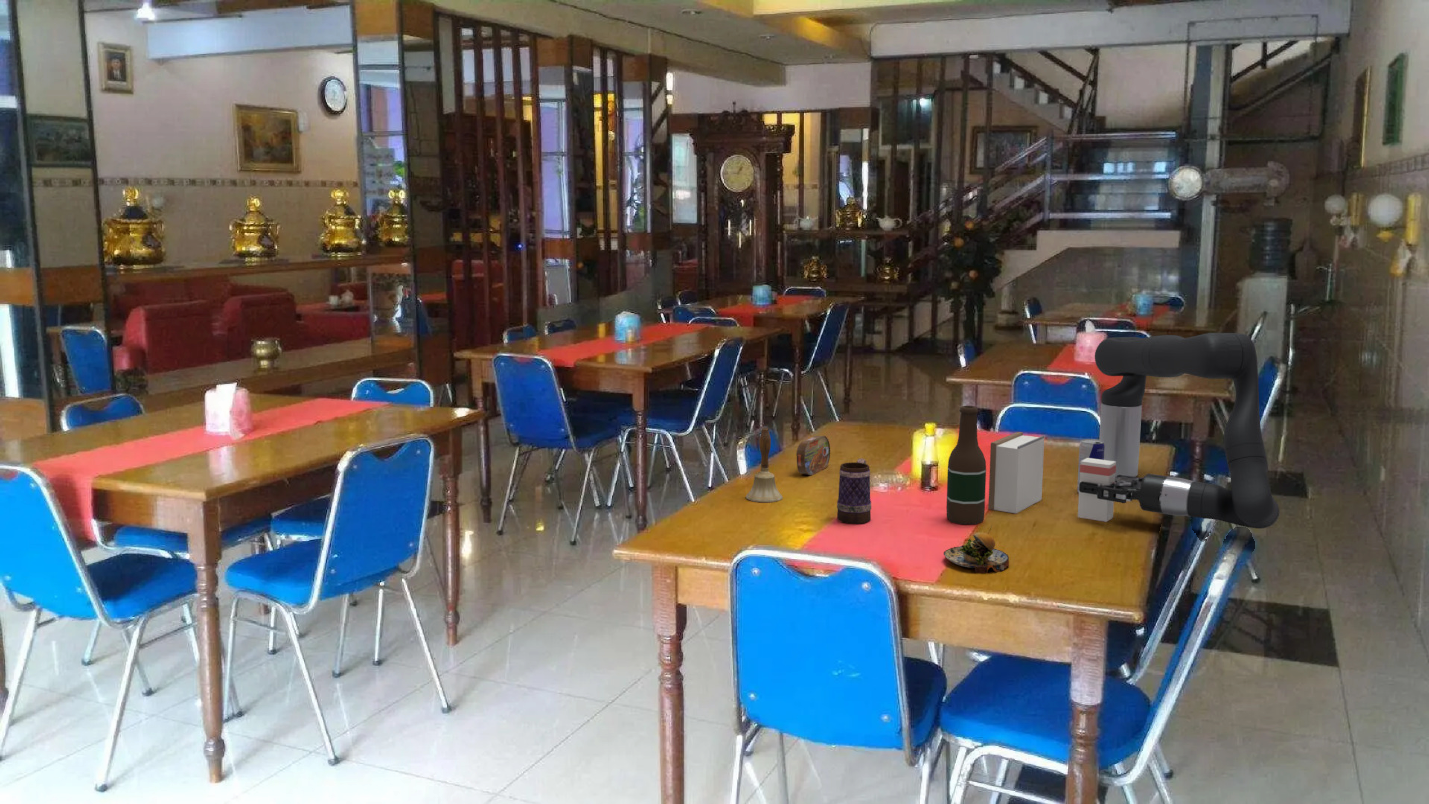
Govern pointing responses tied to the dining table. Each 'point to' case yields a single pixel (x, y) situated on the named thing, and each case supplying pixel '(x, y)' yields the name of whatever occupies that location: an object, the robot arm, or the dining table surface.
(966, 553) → the burger
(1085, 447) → the energy drink
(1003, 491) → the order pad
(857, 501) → the mug
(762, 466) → the hand bell
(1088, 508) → the white juice carton
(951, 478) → the beer bottle
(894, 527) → the dining table surface
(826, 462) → the tin
